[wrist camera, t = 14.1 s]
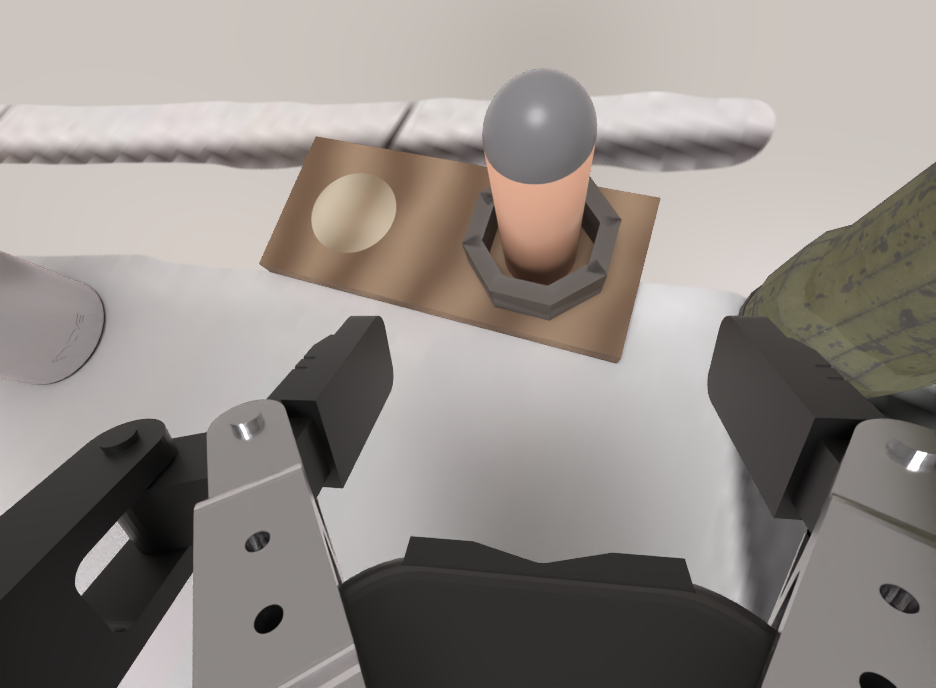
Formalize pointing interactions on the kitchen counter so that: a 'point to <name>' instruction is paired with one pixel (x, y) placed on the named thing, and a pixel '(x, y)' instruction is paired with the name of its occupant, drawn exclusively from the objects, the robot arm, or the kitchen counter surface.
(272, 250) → the jig
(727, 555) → the kitchen counter surface
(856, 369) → the thermos
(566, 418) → the kitchen counter surface
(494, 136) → the round-topped orange cylinder
